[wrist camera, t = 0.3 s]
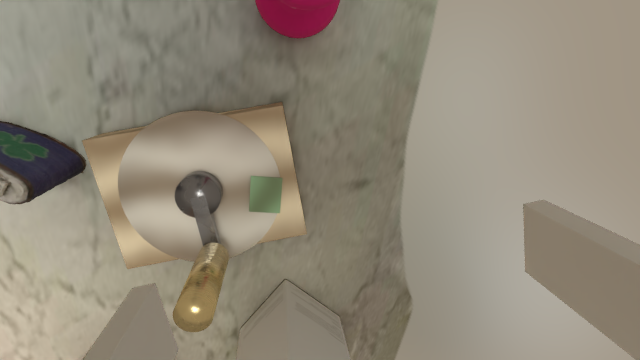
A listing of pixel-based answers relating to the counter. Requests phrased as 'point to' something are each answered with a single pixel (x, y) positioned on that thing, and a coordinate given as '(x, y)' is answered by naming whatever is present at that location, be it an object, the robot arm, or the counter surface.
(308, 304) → the supplement box
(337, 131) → the counter surface
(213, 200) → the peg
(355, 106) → the counter surface
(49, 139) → the flask
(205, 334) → the counter surface
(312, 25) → the pepper mill
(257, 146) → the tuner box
